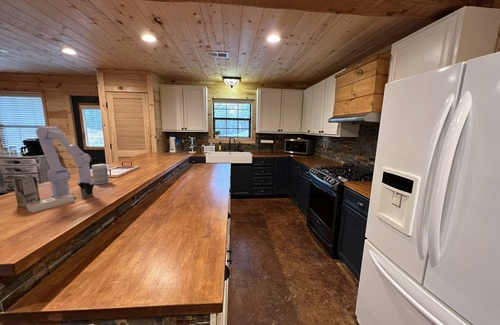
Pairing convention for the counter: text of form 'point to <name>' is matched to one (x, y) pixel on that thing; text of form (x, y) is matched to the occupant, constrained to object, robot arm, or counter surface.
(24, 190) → the coffee box
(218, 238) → the counter surface
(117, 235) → the counter surface
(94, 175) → the supplement tub
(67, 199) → the power strip
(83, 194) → the charger
